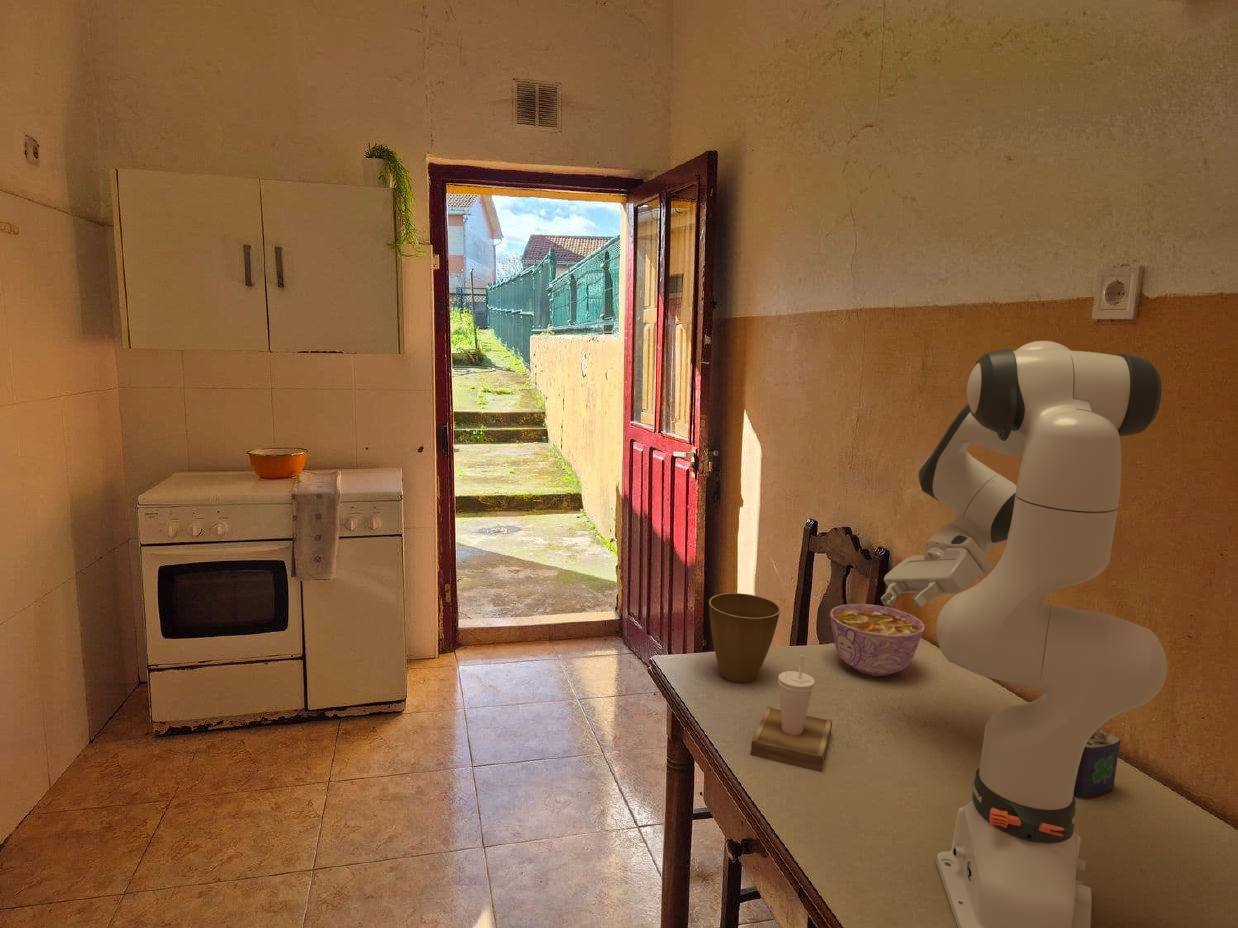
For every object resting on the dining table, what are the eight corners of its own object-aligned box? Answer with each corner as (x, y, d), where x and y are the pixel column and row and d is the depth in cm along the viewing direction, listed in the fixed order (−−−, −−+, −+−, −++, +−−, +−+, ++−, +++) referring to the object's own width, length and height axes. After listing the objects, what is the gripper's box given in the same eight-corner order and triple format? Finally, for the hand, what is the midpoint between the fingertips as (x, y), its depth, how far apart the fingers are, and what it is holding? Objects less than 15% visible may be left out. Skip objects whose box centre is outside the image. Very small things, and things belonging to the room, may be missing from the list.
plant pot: (693, 680, 163) (698, 607, 160) (718, 656, 176) (723, 588, 173) (762, 697, 156) (768, 622, 153) (782, 671, 169) (788, 601, 166)
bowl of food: (822, 677, 167) (827, 626, 165) (828, 644, 186) (832, 598, 184) (921, 695, 161) (927, 642, 159) (917, 659, 180) (922, 611, 178)
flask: (1102, 781, 131) (1111, 722, 129) (1119, 790, 128) (1129, 730, 127) (1065, 792, 127) (1074, 731, 125) (1082, 802, 125) (1092, 740, 123)
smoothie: (808, 741, 134) (815, 665, 132) (771, 733, 136) (777, 658, 134) (812, 724, 140) (818, 651, 138) (776, 717, 142) (782, 645, 140)
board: (821, 771, 130) (823, 756, 129) (750, 754, 134) (751, 739, 134) (831, 733, 143) (832, 719, 142) (765, 719, 147) (767, 706, 146)
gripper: (906, 543, 150) (858, 588, 146) (977, 537, 131) (923, 588, 127) (926, 569, 150) (878, 615, 147) (999, 566, 131) (946, 619, 127)
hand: (899, 602), depth 137 cm, fingers open, 8 cm apart
